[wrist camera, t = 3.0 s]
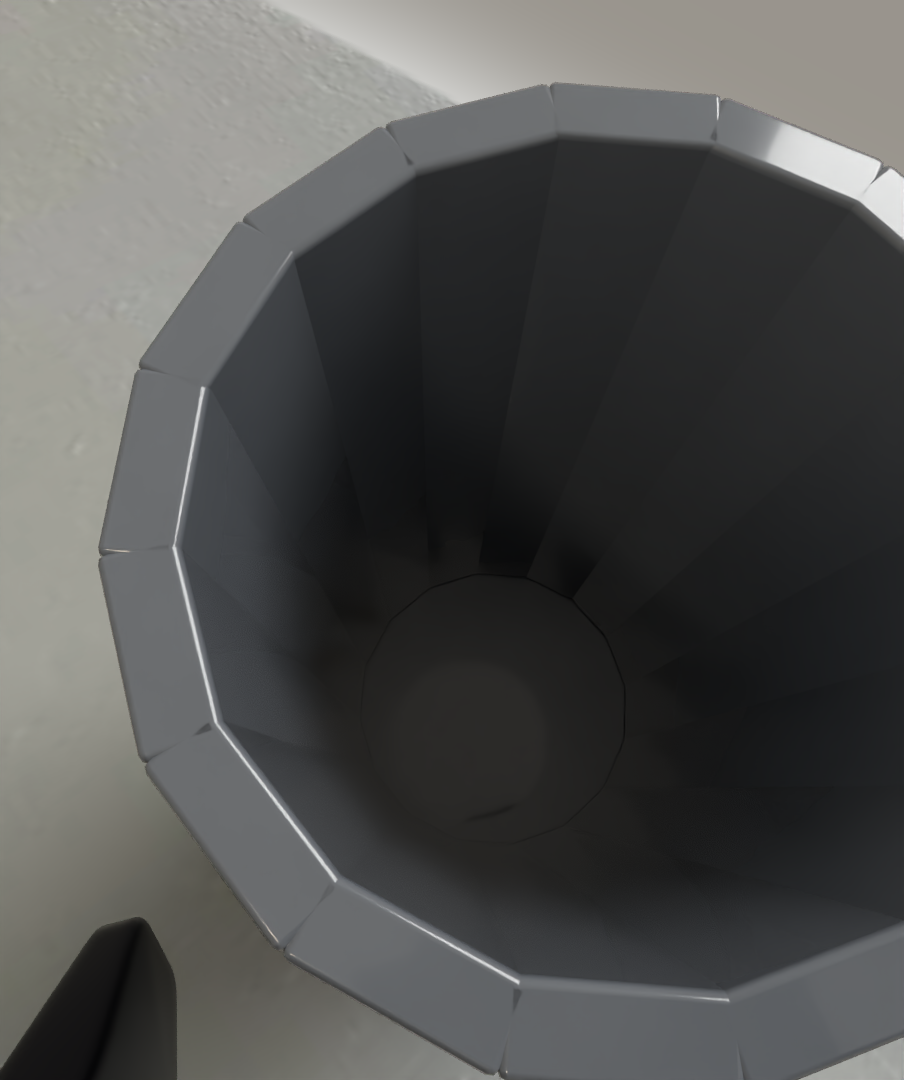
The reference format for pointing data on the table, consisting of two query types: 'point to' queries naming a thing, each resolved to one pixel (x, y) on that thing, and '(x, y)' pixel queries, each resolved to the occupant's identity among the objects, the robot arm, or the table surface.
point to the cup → (543, 583)
